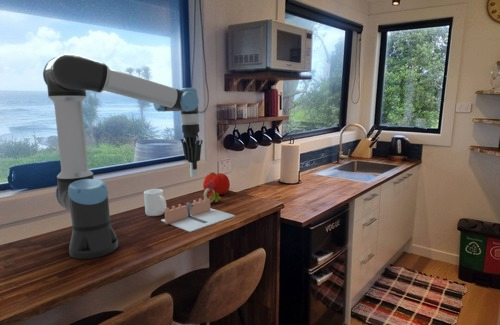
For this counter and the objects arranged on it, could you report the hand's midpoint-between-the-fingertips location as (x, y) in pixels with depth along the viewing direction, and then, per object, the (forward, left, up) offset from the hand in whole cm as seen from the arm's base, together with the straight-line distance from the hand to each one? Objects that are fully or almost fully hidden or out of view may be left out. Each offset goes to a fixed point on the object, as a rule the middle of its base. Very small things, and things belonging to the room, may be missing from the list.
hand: (193, 176), depth 157 cm
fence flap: (-3, -7, -15) cm, 17 cm away
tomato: (+24, +13, -16) cm, 32 cm away
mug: (-15, +8, -16) cm, 23 cm away
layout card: (-7, -11, -16) cm, 20 cm away
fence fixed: (-14, -7, -16) cm, 22 cm away
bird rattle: (+12, +3, -16) cm, 20 cm away
